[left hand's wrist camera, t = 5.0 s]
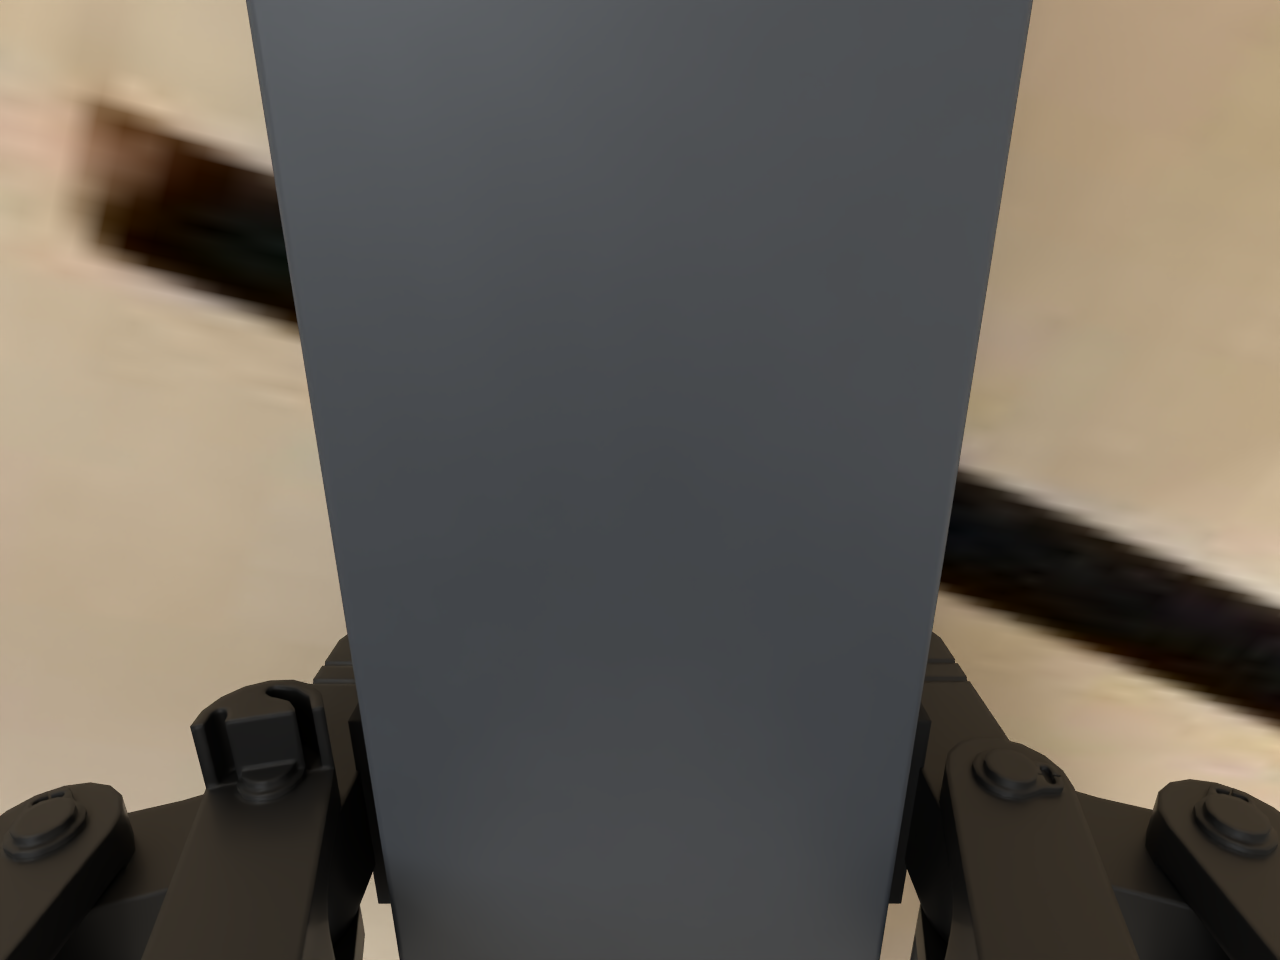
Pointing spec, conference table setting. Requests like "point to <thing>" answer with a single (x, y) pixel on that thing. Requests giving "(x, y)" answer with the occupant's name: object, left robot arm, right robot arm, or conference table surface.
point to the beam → (639, 441)
